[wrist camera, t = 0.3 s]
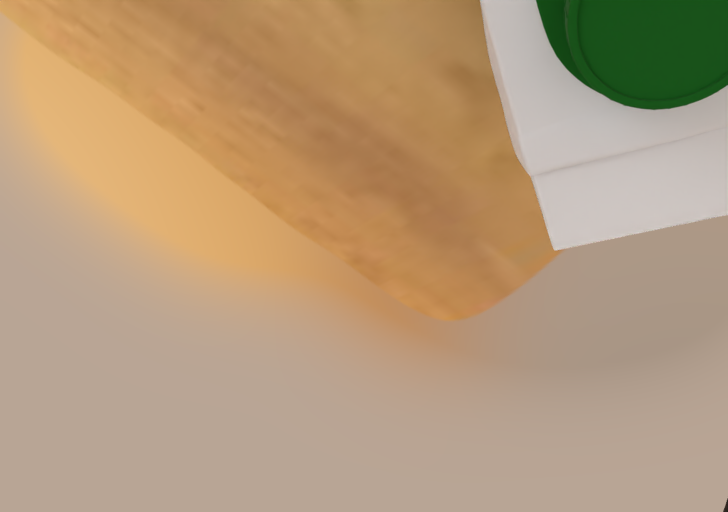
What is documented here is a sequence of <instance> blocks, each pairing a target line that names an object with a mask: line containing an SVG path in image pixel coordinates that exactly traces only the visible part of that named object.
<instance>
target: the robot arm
mask: <svg viewBox="0 0 728 512" xmlns="http://www.w3.org/2000/svg"><path fill="white" fill-rule="evenodd" d="M723 512H728V499H727V502H726V506H725V508H724V511H723Z"/></svg>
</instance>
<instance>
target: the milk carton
mask: <svg viewBox="0 0 728 512" xmlns="http://www.w3.org/2000/svg"><path fill="white" fill-rule="evenodd" d="M480 4H481V9H482V16H483V23H484V31H485V37H486V43H487V49H488V55H489V59H490V63H491V67H492V70H493V74H494V78H495V82H496V85H497V89H498V92H499V95H500V99H501V103H502V106H503V110H504V115H505V120H506V124H507V128H508V131H509V135H510V138H511V141H512V145H513V148H514V151H515V153H516V156H517V158H518V160H519V162H520V164H521V165H522V166H523V168H524V169H525V170H526V172H527V173H528V175H530V176H531V179H532V183H533V186H534V189H535V192H536V195H537V199H538V202H539V205H540V208H541V212H542V215H543V218H544V221H545V225H546V228H547V231H548V234H549V237H550V240H551V243H552V246H553V249H554V250H561V249H566V248H571V247H575V246H580V245H585V244H589V243H594V242H599V241H603V240H609V239H613V238H619V237H623V236H628V235H633V234H637V233H642V232H647V231H652V230H657V229H662V228H666V227H671V226H675V225H681V224H686V223H690V222H695V221H699V220H705V219H710V218H714V217H719V216H724V215H728V0H480Z"/></svg>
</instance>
